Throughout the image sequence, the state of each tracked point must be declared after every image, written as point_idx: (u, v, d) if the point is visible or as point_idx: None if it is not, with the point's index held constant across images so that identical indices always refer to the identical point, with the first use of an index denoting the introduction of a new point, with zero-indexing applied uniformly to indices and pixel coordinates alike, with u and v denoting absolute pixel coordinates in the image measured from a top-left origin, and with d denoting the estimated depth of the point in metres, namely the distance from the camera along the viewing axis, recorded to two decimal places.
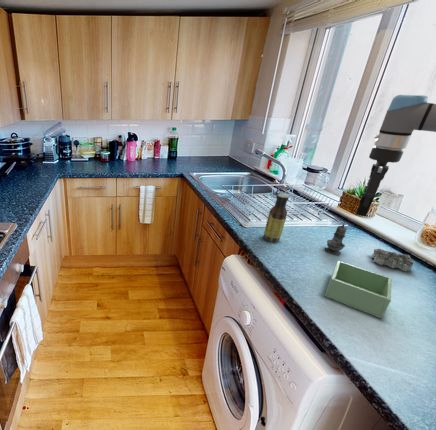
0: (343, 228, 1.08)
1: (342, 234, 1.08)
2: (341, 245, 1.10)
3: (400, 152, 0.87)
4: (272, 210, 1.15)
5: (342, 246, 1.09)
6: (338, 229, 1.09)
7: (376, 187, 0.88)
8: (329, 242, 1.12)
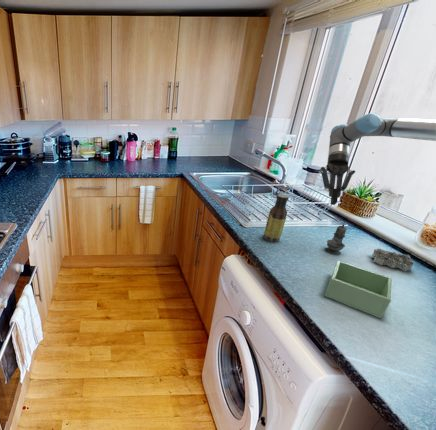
0: (343, 228, 1.08)
1: (342, 234, 1.08)
2: (341, 245, 1.10)
3: (335, 153, 1.27)
4: (272, 210, 1.15)
5: (342, 246, 1.09)
6: (338, 229, 1.09)
7: (325, 180, 1.27)
8: (329, 242, 1.12)
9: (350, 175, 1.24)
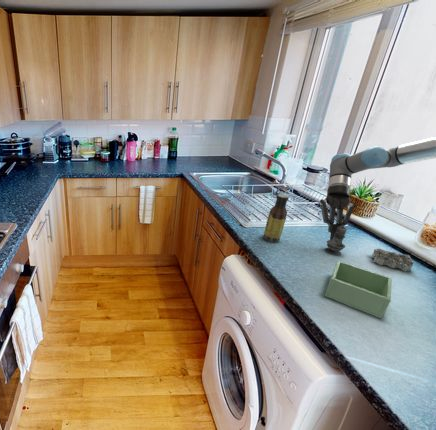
0: (343, 228, 1.07)
1: (342, 234, 1.08)
2: (341, 245, 1.09)
3: (335, 185, 1.19)
4: (272, 210, 1.15)
5: (342, 246, 1.09)
6: (338, 229, 1.08)
7: (324, 214, 1.18)
8: (329, 242, 1.12)
9: (351, 209, 1.16)
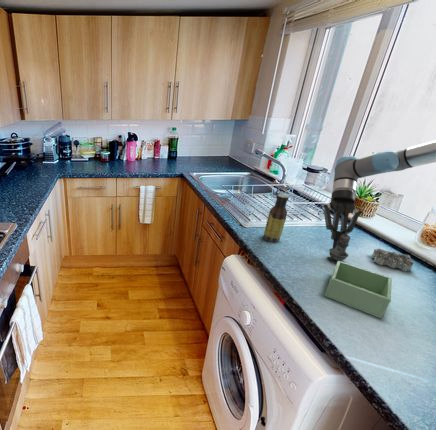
0: (346, 237, 1.02)
1: (345, 243, 1.02)
2: (344, 255, 1.03)
3: (340, 190, 1.12)
4: (272, 210, 1.15)
5: (345, 256, 1.03)
6: (341, 238, 1.03)
7: (327, 220, 1.12)
8: (331, 251, 1.06)
9: (357, 216, 1.09)
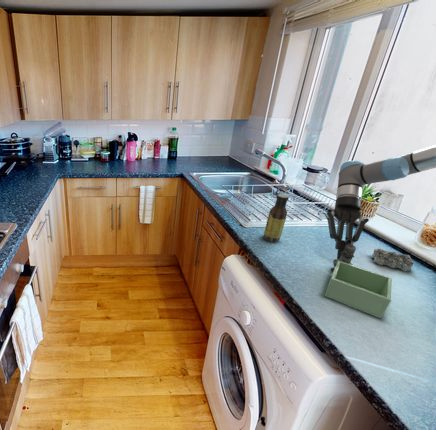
0: (352, 247, 0.95)
1: (351, 254, 0.96)
2: None
3: (345, 196, 1.06)
4: (272, 210, 1.15)
5: None
6: (346, 248, 0.96)
7: (331, 228, 1.05)
8: (336, 262, 0.99)
9: (362, 224, 1.03)
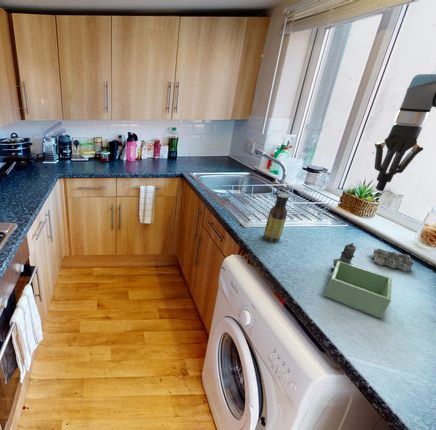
0: (352, 247, 0.95)
1: (351, 254, 0.96)
2: None
3: (403, 127, 0.96)
4: (272, 210, 1.15)
5: None
6: (346, 248, 0.96)
7: (377, 162, 1.04)
8: (336, 262, 0.99)
9: (414, 154, 0.99)
